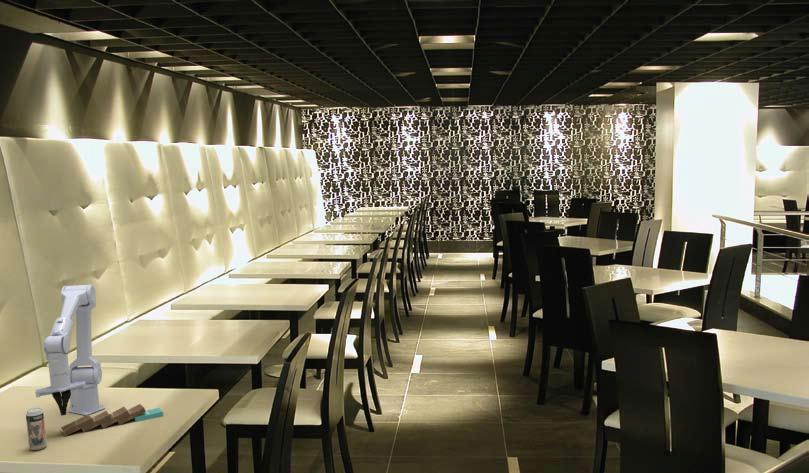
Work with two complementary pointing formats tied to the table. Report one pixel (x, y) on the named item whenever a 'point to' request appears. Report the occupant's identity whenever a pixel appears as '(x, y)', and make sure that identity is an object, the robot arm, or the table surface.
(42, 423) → the beer can
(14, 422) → the table surface
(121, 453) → the table surface
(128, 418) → the domino
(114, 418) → the domino
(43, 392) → the robot arm
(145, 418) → the domino
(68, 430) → the domino
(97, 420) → the domino
